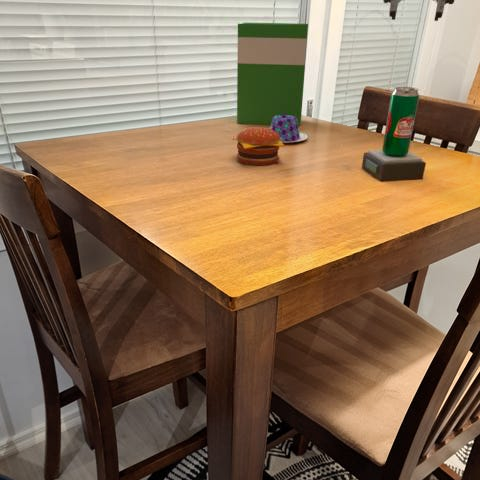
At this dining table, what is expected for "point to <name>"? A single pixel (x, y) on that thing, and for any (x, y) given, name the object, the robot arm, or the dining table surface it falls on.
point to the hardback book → (270, 71)
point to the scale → (393, 166)
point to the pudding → (287, 129)
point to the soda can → (400, 121)
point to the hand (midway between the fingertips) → (415, 17)
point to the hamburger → (258, 146)
